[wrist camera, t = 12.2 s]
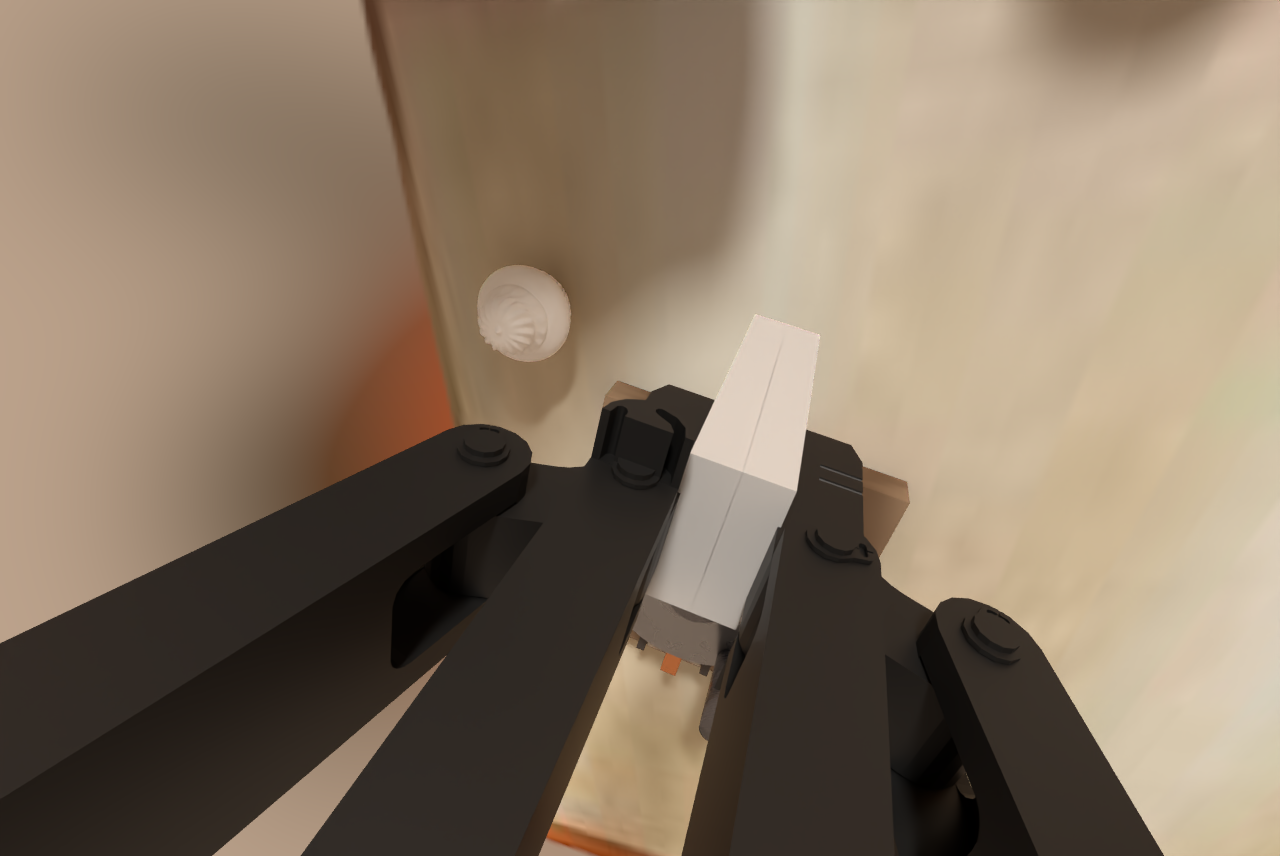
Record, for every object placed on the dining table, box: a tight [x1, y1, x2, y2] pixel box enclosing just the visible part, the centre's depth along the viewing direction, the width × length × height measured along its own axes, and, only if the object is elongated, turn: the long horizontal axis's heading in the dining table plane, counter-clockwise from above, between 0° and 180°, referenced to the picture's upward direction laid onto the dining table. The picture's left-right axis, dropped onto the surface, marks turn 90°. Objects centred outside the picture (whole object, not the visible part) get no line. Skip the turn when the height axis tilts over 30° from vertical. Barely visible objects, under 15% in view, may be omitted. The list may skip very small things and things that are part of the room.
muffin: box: [477, 265, 572, 362], centre depth 40 cm, size 6×6×7 cm
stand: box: [603, 381, 910, 676], centre depth 46 cm, size 20×20×3 cm
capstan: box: [632, 594, 743, 741], centre depth 42 cm, size 16×15×8 cm
